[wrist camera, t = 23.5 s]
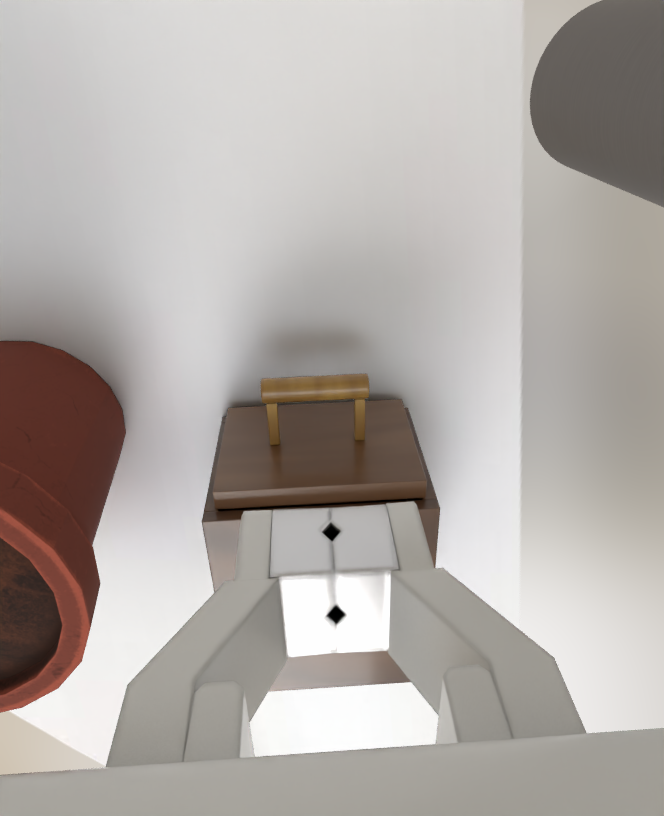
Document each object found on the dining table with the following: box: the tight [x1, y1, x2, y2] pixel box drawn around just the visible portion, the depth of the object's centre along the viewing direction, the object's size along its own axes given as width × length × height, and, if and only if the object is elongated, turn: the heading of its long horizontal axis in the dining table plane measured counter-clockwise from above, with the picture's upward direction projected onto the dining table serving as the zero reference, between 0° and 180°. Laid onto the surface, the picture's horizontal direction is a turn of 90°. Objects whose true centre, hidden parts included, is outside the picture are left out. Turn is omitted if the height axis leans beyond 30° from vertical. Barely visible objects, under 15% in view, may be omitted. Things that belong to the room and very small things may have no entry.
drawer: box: [212, 374, 427, 511], centre depth 38 cm, size 18×11×9 cm, turn 2°
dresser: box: [202, 408, 440, 691], centre depth 40 cm, size 15×13×11 cm
